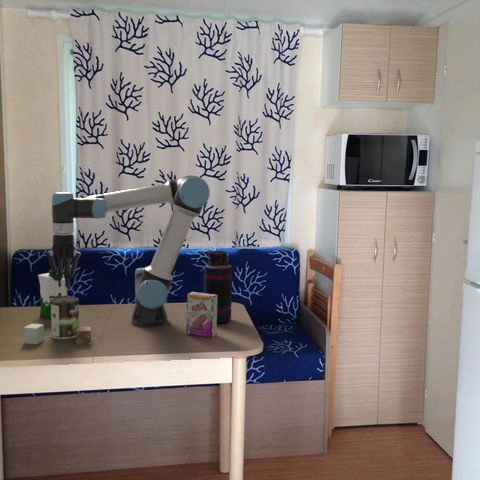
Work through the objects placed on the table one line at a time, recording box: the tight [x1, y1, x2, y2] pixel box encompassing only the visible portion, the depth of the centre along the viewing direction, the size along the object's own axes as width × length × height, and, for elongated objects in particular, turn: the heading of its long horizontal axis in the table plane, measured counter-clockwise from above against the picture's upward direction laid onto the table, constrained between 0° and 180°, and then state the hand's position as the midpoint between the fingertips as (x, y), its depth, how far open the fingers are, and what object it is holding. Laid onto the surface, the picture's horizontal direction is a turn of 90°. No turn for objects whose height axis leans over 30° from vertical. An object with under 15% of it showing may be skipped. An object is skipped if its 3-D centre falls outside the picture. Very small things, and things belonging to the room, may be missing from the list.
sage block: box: [23, 323, 45, 345], centre depth 201 cm, size 5×5×6 cm
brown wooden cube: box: [76, 326, 92, 345], centre depth 202 cm, size 5×5×5 cm
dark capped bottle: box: [203, 250, 233, 324], centre depth 231 cm, size 14×12×30 cm
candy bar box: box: [185, 291, 218, 339], centre depth 212 cm, size 11×5×16 cm, turn 71°
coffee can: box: [50, 296, 80, 340], centre depth 208 cm, size 10×10×14 cm
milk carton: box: [37, 269, 65, 319], centre depth 233 cm, size 9×9×20 cm
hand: (64, 295), depth 207 cm, fingers closed
